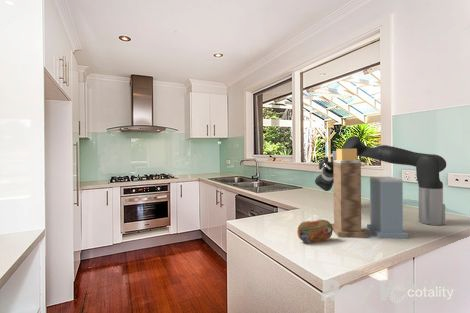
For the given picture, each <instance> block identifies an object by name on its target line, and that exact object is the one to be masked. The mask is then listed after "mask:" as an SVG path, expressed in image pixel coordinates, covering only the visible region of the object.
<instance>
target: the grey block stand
mask: <svg viewBox="0 0 470 313" xmlns="http://www.w3.org/2000/svg"><path fill="white" fill-rule="evenodd" d="M369 189H370V190H369V197H370V198H369V200H370V201H369V206H370V207H369V208H370V209H369V211H370V213H369V214H370V217H369V218H370V219H369V220H370V221H369V223H370V224H369V223H367V224H366V229H367V230H368V231H369V232H371V233H372V234H373V235H375V237H377V238H378V239H397V240H398V239H400V240H404V239H408V240H409V233H407V232H405V231H404V229H403V226H404V225H403V224H404V223H403V219H404V218H403V216H404V215H403V213H404V212H403V210H404V208H403V207H404V206H403V205H404V203H403V201H404V200H403V195H404V192H403V179H401V178H397V177H394V176H393V177H392V176H370V177H369Z"/></svg>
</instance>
